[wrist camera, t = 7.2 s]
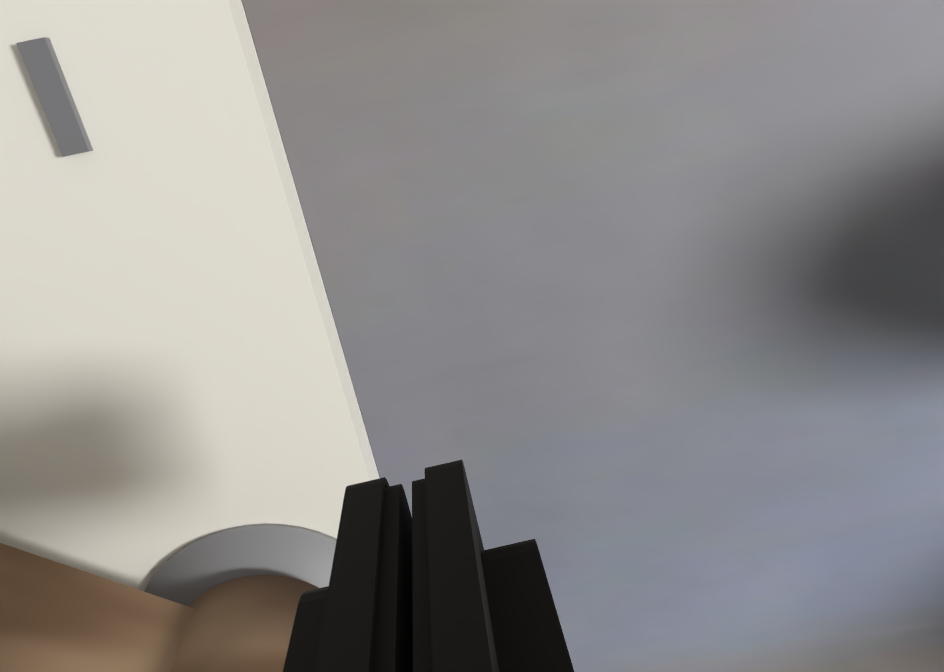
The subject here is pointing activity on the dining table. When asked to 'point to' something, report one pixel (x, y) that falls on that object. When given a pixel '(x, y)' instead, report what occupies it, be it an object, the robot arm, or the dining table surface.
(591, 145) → the dining table surface
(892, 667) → the dining table surface
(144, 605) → the walnut dial lever
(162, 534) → the dial plate
